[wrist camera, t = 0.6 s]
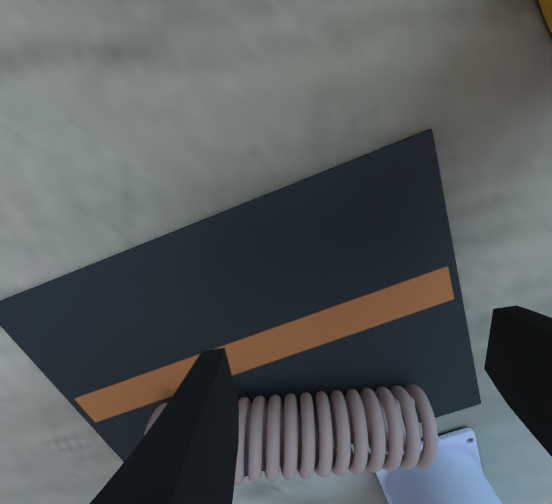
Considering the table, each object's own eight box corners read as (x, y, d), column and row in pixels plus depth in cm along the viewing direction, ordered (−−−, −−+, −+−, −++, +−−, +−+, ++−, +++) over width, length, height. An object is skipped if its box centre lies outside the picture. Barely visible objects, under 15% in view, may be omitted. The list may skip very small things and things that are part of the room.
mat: (479, 401, 24) (481, 404, 23) (161, 499, 26) (160, 503, 26) (430, 128, 16) (432, 129, 16) (-14, 306, 18) (-17, 308, 18)
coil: (140, 508, 19) (439, 482, 20) (118, 465, 17) (457, 437, 17) (160, 431, 23) (407, 412, 24) (144, 388, 21) (419, 368, 21)
